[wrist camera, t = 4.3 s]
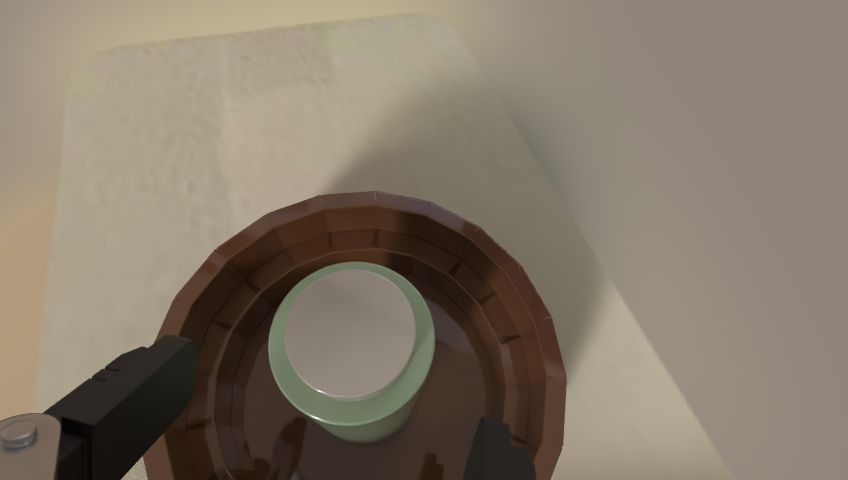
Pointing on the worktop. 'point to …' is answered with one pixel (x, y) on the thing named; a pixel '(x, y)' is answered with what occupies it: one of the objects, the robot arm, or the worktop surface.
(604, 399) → the worktop surface
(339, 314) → the pepper shaker
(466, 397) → the bowl
